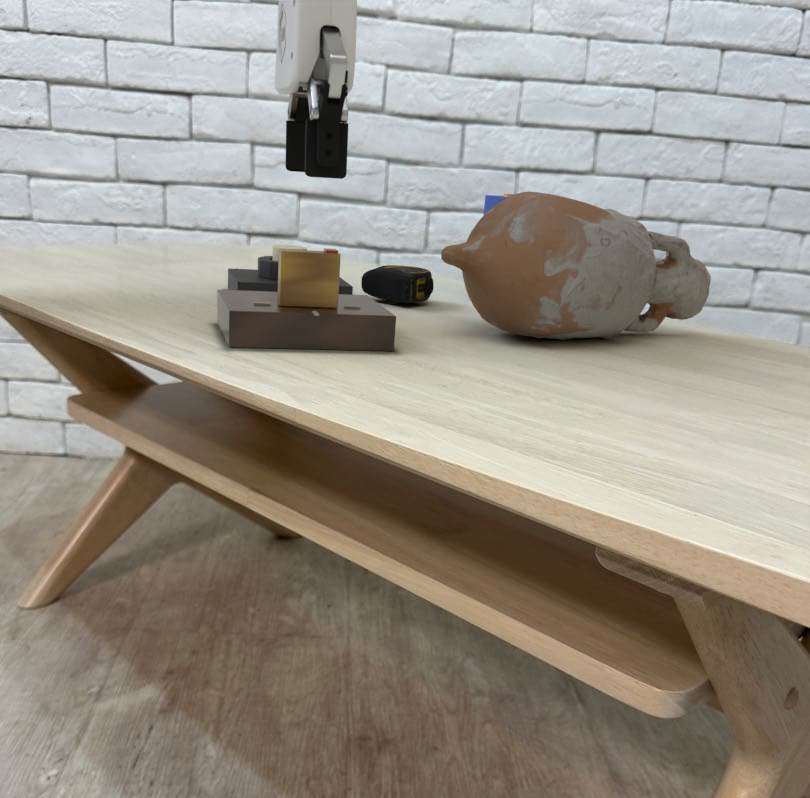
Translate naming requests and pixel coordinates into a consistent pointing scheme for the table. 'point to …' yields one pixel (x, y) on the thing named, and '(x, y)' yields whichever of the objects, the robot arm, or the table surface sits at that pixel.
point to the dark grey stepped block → (266, 278)
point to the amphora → (574, 270)
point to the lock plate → (304, 323)
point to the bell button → (277, 247)
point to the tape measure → (398, 283)
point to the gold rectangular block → (308, 278)
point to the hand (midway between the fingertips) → (314, 174)
